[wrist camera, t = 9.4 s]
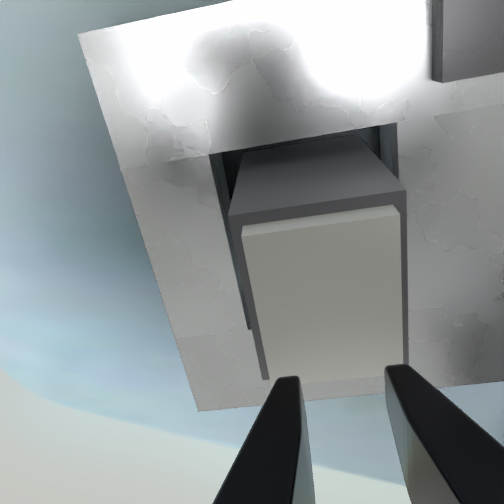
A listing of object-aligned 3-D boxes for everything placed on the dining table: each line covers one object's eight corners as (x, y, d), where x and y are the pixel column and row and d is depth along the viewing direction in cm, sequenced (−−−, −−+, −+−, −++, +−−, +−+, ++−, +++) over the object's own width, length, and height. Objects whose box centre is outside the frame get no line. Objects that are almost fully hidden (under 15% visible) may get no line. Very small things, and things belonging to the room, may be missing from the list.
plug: (365, 261, 17) (415, 381, 11) (265, 274, 17) (262, 396, 11) (357, 134, 15) (414, 198, 9) (243, 152, 15) (225, 225, 9)
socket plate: (504, 337, 18) (547, 393, 15) (206, 370, 20) (195, 427, 17) (542, -58, 12) (626, -87, 9) (107, 34, 14) (64, 33, 11)
